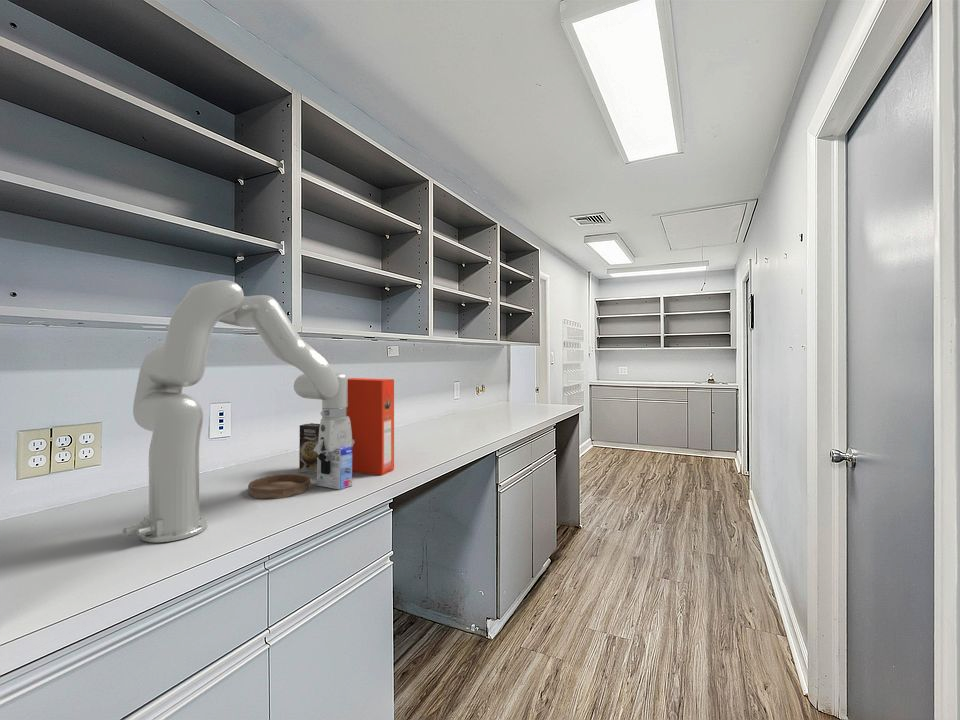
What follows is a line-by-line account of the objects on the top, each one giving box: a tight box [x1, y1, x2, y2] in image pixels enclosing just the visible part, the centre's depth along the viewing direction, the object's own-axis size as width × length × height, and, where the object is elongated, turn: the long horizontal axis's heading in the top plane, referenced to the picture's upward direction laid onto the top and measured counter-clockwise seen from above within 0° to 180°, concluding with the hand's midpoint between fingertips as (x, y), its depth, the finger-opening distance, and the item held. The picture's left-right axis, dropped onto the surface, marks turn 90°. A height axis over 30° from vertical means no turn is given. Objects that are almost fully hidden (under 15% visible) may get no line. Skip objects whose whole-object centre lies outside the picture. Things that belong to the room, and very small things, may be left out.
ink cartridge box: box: [316, 446, 353, 490], centre depth 140 cm, size 10×6×14 cm, turn 64°
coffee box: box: [298, 422, 320, 475], centre depth 157 cm, size 9×6×16 cm
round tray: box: [247, 473, 311, 500], centre depth 135 cm, size 17×17×3 cm
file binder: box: [347, 377, 395, 476], centre depth 158 cm, size 8×17×32 cm, turn 70°
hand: (334, 470), depth 140 cm, fingers open, 6 cm apart
